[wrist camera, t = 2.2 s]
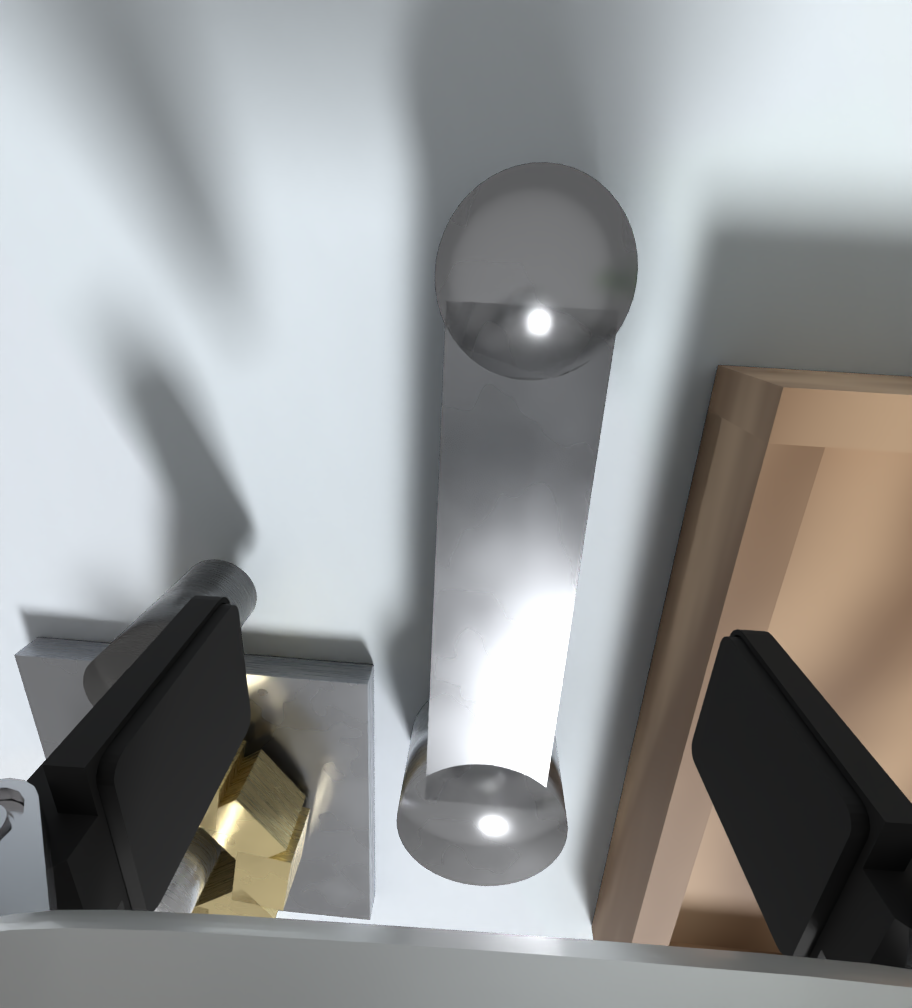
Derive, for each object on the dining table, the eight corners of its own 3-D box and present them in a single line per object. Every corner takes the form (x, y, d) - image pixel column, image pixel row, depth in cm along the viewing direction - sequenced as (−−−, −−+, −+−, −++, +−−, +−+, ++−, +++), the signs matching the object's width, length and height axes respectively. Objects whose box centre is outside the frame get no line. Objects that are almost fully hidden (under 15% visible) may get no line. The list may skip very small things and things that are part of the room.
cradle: (1166, 391, 14) (1369, 422, 11) (866, 954, 23) (928, 1065, 19) (718, 364, 14) (783, 387, 11) (591, 926, 23) (607, 1030, 20)
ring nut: (294, 897, 21) (247, 1040, 17) (103, 856, 21) (11, 991, 17) (349, 590, 16) (300, 692, 12) (95, 531, 16) (-42, 615, 12)
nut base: (373, 665, 19) (317, 842, 13) (374, 894, 23) (333, 1106, 17) (37, 637, 19) (-170, 796, 13) (101, 867, 24) (-32, 1065, 18)
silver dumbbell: (427, 187, 13) (407, 156, 10) (640, 198, 13) (688, 169, 10) (410, 785, 21) (395, 877, 18) (546, 798, 21) (556, 893, 17)
